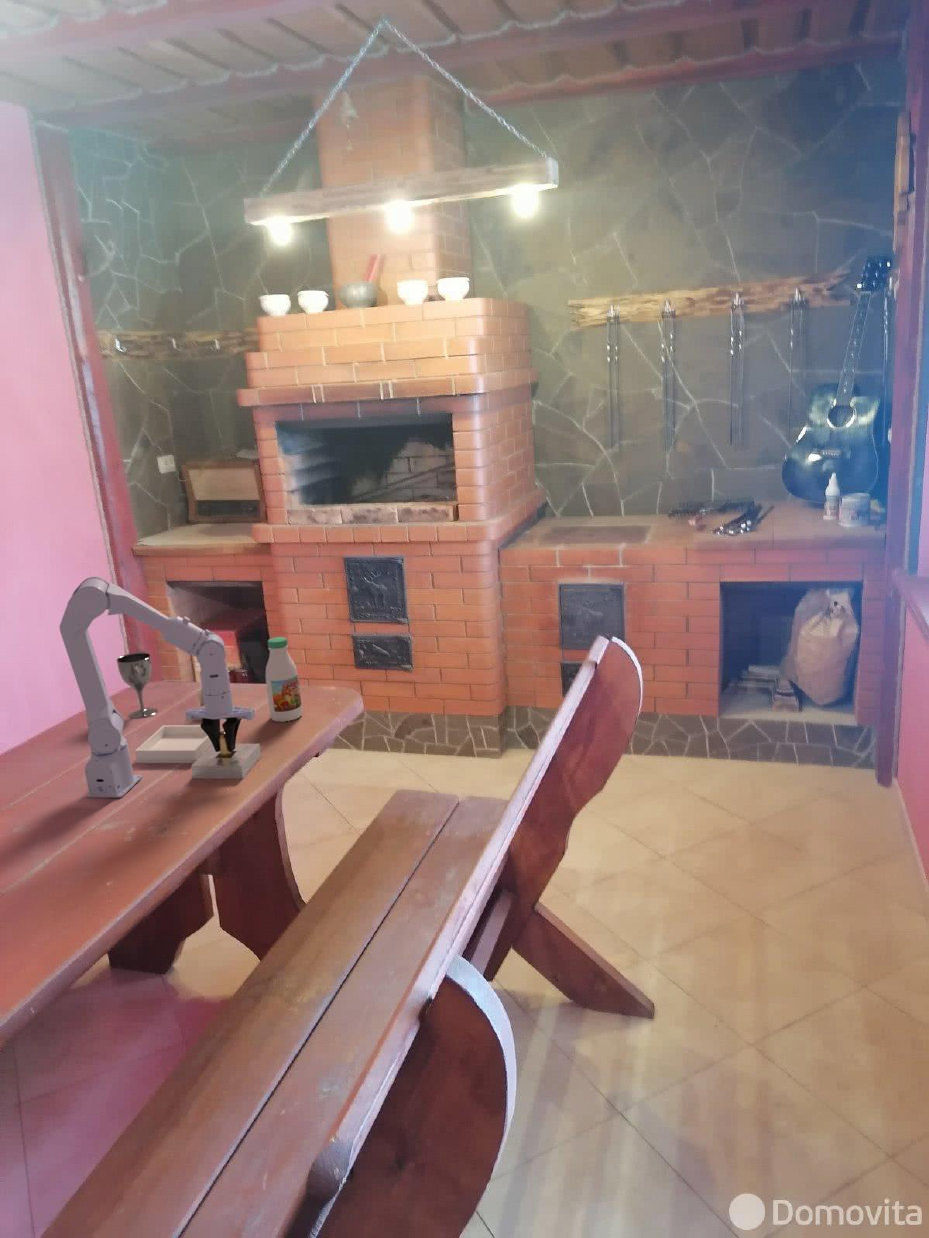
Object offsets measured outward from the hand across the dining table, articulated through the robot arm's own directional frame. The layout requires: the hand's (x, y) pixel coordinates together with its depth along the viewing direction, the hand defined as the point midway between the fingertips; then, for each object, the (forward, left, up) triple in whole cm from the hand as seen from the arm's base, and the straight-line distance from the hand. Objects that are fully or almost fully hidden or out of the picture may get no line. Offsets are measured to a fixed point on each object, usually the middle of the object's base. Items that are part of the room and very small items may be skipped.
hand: (225, 750), depth 193 cm
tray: (+9, +15, -4) cm, 18 cm away
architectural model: (+31, +17, -5) cm, 36 cm away
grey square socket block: (0, 0, -4) cm, 4 cm away
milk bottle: (+28, -4, -4) cm, 29 cm away
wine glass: (+31, +35, -4) cm, 47 cm away
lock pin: (0, 0, -4) cm, 4 cm away
